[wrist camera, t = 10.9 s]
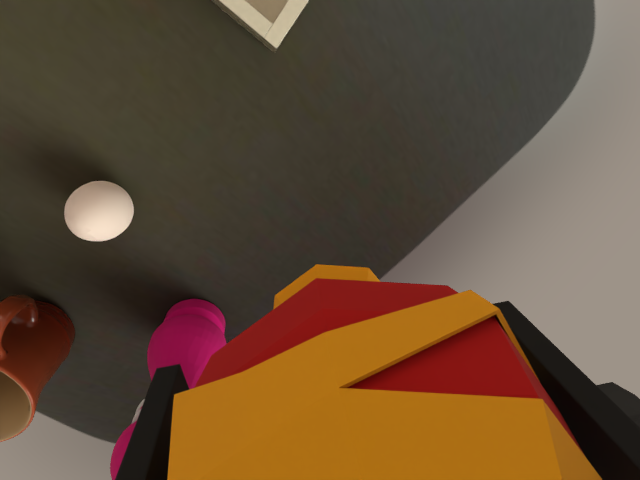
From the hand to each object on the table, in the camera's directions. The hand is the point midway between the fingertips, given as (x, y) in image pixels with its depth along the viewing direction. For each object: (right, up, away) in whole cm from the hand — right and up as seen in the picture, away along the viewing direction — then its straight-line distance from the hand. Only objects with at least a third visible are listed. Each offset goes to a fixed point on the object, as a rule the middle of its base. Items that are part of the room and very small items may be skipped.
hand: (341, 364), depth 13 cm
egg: (-19, +8, +22) cm, 31 cm away
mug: (-28, -3, +26) cm, 39 cm away
